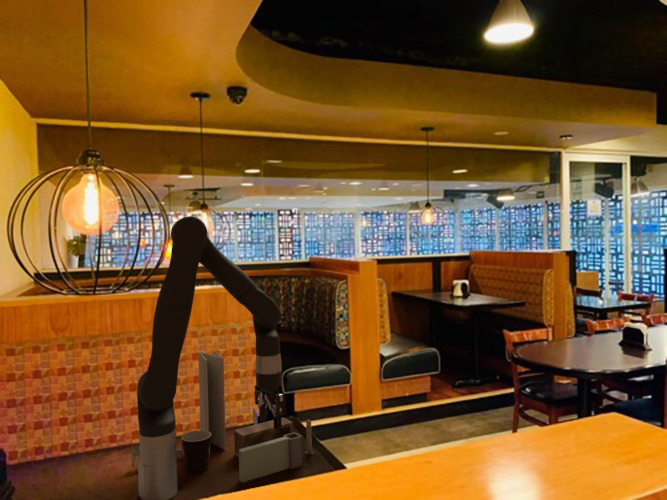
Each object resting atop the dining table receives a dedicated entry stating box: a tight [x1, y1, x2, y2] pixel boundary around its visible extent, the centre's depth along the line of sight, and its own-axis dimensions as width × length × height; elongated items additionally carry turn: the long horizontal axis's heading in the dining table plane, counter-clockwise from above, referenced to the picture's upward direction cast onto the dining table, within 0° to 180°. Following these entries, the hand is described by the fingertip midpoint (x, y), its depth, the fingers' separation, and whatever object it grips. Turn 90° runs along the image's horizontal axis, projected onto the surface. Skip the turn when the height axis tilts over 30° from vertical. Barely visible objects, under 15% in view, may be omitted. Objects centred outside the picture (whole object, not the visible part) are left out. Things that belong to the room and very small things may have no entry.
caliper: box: [130, 445, 184, 467], centre depth 157 cm, size 20×1×6 cm, turn 117°
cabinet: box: [233, 417, 315, 459], centre depth 160 cm, size 20×15×11 cm
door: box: [238, 431, 304, 484], centre depth 148 cm, size 19×4×9 cm, turn 126°
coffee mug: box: [180, 430, 212, 475], centre depth 153 cm, size 12×9×10 cm
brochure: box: [197, 349, 227, 451], centre depth 170 cm, size 14×6×30 cm, turn 25°
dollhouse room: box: [250, 407, 287, 426], centre depth 183 cm, size 12×12×7 cm
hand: (270, 424), depth 148 cm, fingers open, 8 cm apart
